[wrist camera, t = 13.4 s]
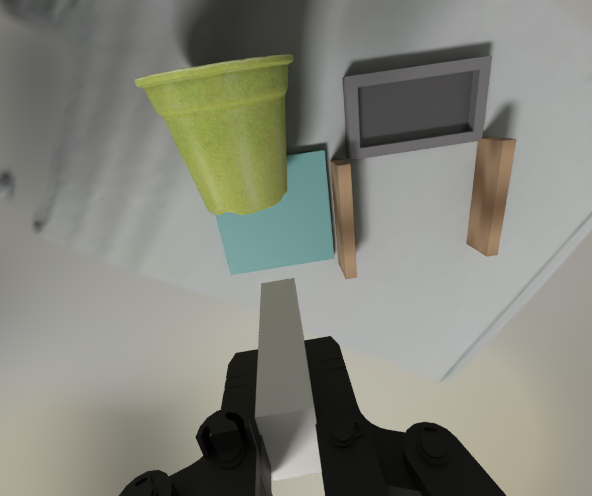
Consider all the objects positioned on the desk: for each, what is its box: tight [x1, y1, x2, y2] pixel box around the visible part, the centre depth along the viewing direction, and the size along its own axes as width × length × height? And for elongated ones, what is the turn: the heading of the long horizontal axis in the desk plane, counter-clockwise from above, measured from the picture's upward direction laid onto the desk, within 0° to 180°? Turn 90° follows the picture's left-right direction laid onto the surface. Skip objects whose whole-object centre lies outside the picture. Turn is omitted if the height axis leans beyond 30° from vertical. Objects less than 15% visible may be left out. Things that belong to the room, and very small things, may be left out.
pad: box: [215, 150, 334, 275], centre depth 27 cm, size 10×10×1 cm
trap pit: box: [343, 56, 492, 160], centre depth 24 cm, size 6×11×1 cm, turn 98°
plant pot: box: [134, 54, 293, 215], centre depth 20 cm, size 9×9×9 cm
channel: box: [330, 137, 516, 279], centre depth 26 cm, size 10×14×3 cm
